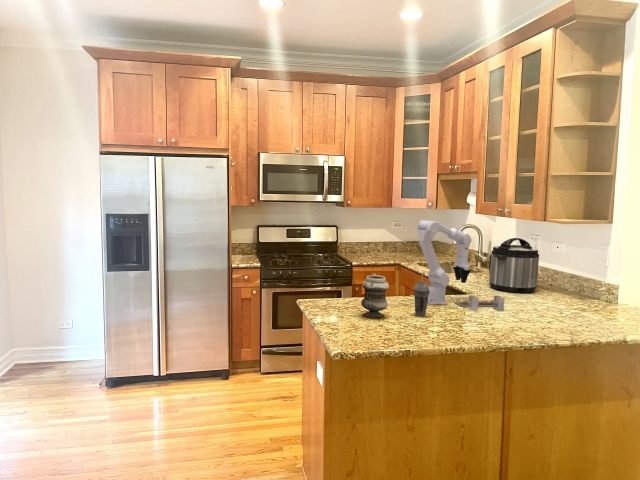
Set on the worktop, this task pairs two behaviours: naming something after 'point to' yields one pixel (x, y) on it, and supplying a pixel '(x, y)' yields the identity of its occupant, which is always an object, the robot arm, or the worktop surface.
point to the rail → (488, 302)
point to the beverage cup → (421, 298)
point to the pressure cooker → (514, 267)
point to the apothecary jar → (375, 296)
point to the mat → (467, 305)
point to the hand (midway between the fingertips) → (460, 281)
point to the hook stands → (474, 302)
